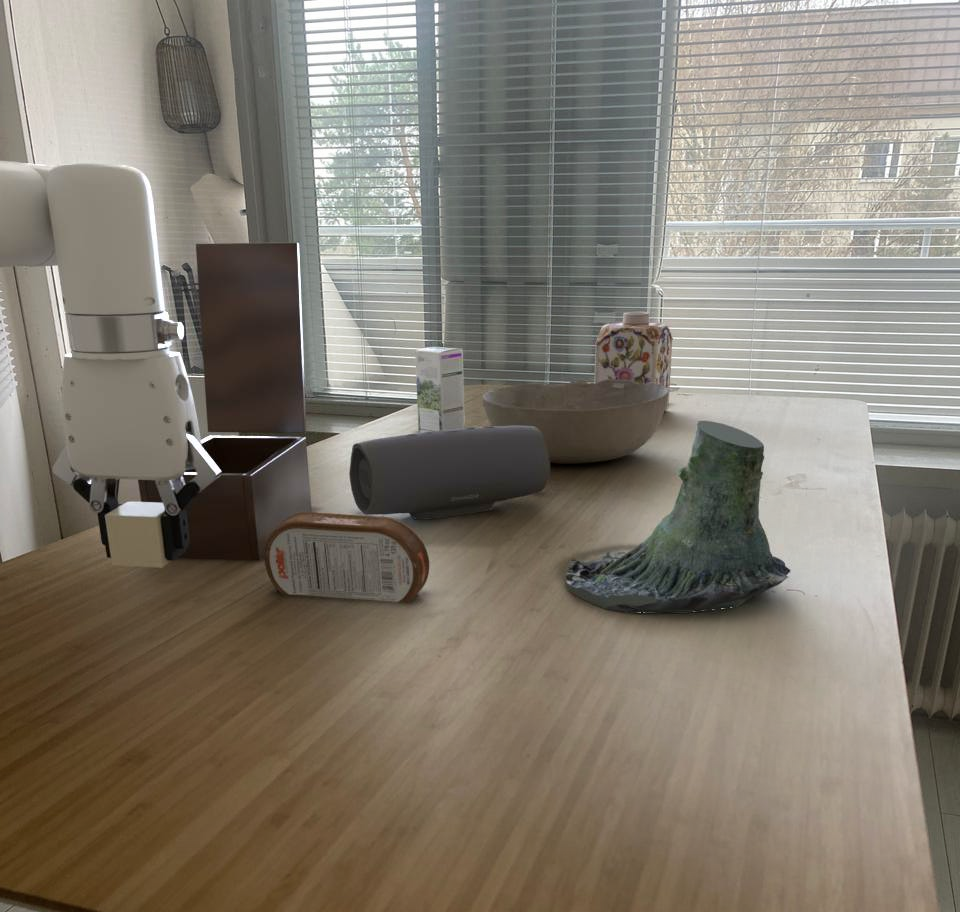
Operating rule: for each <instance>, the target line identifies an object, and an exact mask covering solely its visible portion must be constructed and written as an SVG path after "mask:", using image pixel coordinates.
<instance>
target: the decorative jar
mask: <svg viewBox="0 0 960 912" xmlns="http://www.w3.org/2000/svg"><path fill="white" fill-rule="evenodd" d="M622 314H623V315H622V321H618V322H610V323H607V324H603V325H602V327H601V328H600V329H599V330H600V331H599V333H598V335H597V337H596V338H597V339H596V340H595V354H594V377H593V378H594V379H593V383H595V384H596V383H598V382H600V381H602V380H606V379H611V380H631V381H634V382H637V383H639V382H640V383H645V384H646V383H650V382H652V383H658V384H662V385H664V386H665V387H666V388H668V390H669V392H671V391H670V390H671V389H670V388H671V373H672V350H673V349H672V348H673V340H674V338H673V337H672V332H671V331H670V328H669V327H670V326H669V325H668V324H665V323H663V322H653V321H650V312H647V311H628V312H623V313H622ZM669 402H670V393H669V394H668V399H667V404H666V408H665V410H666V411H668V408H669ZM665 410H664V412H666V411H665Z"/></svg>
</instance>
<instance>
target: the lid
mask: <svg viewBox="0 0 960 912" xmlns="http://www.w3.org/2000/svg"><path fill="white" fill-rule="evenodd" d="M195 256H196V270H197V271H196V272H197V273H196V274H197V286H198V302H199V303H198V304H199V318H200V335H201V347H202V350H201V351H202V363H203V379H204V394H205V407H206V408H205V409H206V424H207V425H206V426H207V433H250V434H251V433H254V434H257V433H258V434H259V433H260V434H261V433H262V434H267V433H268V434H306V433H307V413H306V412H307V411H306V385H305V363H304V361H305V360H304V339H303V338H304V337H303V313H302V312H303V311H302V309H303V308H302V287H301V264H300V263H301V262H300V261H301V260H300V259H301V258H300V243H298V242H229V243H228V242H227V243H226V242H223V243H221V242H219V243H214V242H213V243H212V242H211V243H210V242H209V243H207V242H206V243H195Z"/></svg>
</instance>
